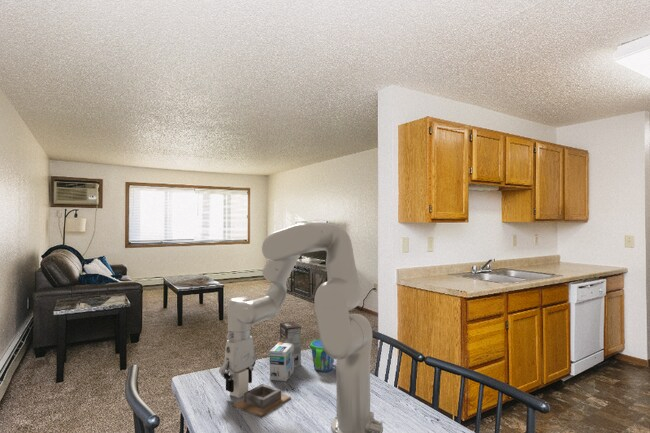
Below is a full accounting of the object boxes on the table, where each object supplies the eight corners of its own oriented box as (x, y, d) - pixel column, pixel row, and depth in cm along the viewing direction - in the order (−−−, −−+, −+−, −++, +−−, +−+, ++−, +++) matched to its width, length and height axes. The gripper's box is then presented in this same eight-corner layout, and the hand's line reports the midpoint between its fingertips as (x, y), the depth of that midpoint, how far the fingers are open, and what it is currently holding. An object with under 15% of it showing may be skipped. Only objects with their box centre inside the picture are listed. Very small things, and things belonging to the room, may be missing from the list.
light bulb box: (286, 381, 133) (286, 352, 133) (268, 380, 134) (268, 350, 135) (294, 370, 143) (294, 342, 144) (278, 369, 145) (278, 341, 145)
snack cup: (328, 378, 136) (328, 350, 136) (303, 374, 140) (303, 347, 140) (342, 363, 150) (342, 338, 151) (318, 360, 154) (318, 336, 154)
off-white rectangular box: (248, 393, 124) (248, 369, 124) (238, 398, 120) (238, 373, 121) (239, 389, 126) (239, 366, 127) (229, 394, 123) (229, 370, 123)
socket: (290, 398, 120) (290, 388, 120) (261, 417, 108) (261, 405, 108) (264, 389, 126) (264, 379, 127) (233, 406, 115) (233, 395, 115)
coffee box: (279, 360, 154) (279, 322, 154) (293, 358, 156) (293, 320, 157) (286, 368, 145) (286, 328, 146) (301, 365, 148) (301, 326, 148)
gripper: (226, 343, 115) (226, 399, 114) (265, 330, 129) (264, 380, 129) (211, 339, 119) (210, 393, 118) (250, 326, 133) (249, 375, 133)
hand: (239, 386), depth 124 cm, fingers open, 7 cm apart
